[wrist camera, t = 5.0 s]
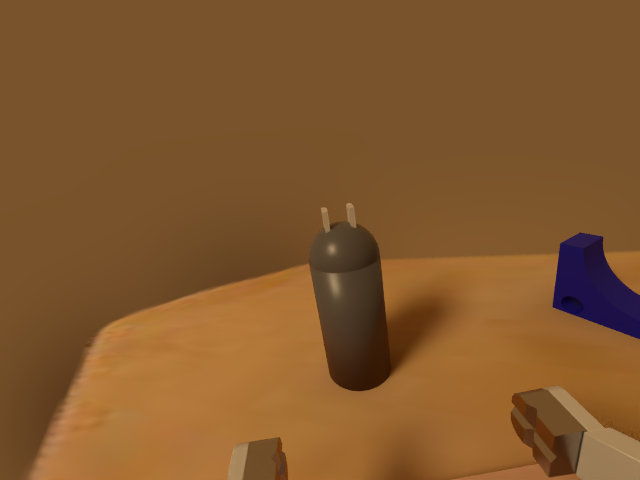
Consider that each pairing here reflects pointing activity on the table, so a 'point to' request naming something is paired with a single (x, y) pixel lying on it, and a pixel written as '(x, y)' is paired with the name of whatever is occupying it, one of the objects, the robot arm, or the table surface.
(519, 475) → the board
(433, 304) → the table surface
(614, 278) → the blue u-shaped bracket
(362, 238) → the charger plug
